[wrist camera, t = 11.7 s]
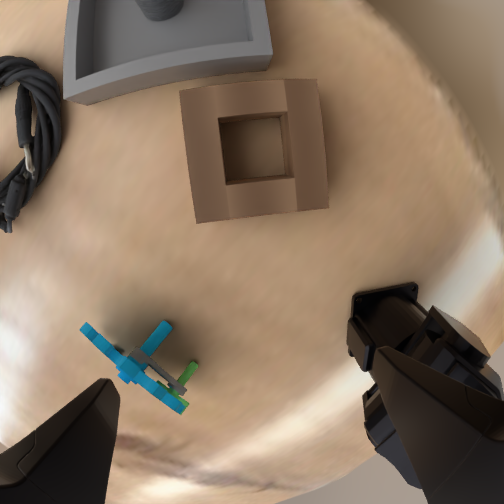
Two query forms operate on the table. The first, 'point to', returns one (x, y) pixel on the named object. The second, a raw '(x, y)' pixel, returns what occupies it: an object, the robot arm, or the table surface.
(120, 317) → the table surface
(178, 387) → the gear
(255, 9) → the tray
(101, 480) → the robot arm
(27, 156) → the cable
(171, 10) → the pin
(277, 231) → the table surface
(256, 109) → the block
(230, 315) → the table surface
